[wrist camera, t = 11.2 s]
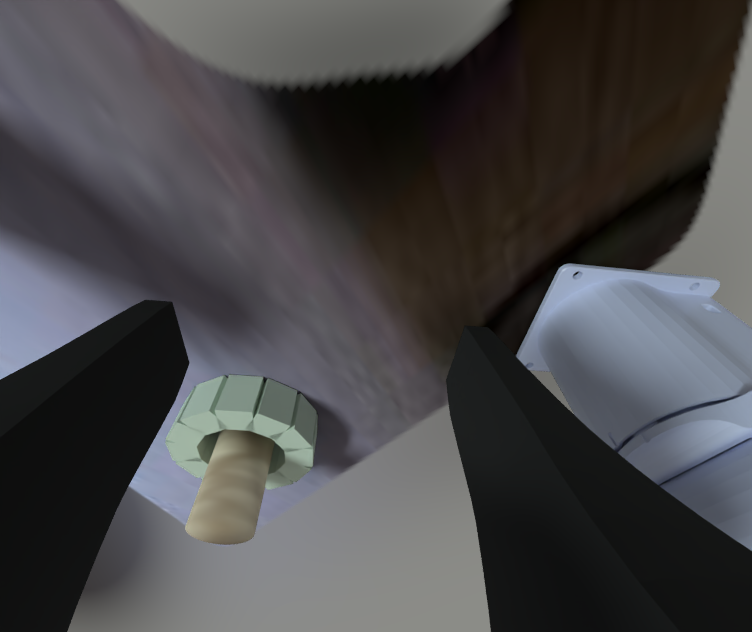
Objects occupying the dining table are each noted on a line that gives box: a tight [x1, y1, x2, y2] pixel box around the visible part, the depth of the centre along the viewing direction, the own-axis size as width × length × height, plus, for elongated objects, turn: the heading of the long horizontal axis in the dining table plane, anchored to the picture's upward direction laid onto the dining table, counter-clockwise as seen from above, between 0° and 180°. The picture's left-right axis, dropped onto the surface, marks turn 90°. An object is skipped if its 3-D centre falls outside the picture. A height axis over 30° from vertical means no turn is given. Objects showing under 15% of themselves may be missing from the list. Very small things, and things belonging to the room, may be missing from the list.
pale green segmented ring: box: [165, 375, 318, 490], centre depth 27 cm, size 10×10×3 cm
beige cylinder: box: [185, 429, 275, 545], centre depth 25 cm, size 4×4×8 cm
